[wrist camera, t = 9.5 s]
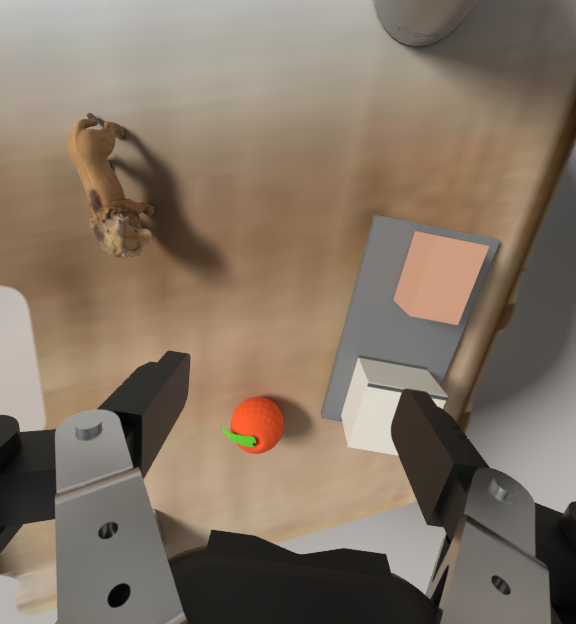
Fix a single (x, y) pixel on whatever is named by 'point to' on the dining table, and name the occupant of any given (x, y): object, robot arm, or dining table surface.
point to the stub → (438, 277)
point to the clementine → (256, 425)
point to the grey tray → (390, 339)
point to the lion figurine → (107, 190)
